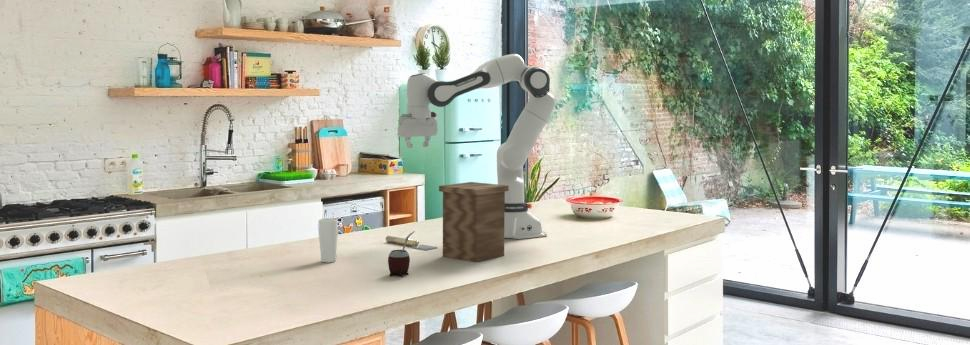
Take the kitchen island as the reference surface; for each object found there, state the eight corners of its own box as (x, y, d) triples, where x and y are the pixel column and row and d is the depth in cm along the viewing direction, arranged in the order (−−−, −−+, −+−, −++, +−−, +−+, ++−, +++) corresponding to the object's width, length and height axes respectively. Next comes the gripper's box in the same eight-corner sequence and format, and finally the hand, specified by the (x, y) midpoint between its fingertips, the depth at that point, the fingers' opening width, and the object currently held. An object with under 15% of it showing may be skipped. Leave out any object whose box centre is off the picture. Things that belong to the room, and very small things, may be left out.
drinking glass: (340, 259, 311) (340, 218, 310) (335, 263, 305) (334, 221, 303) (321, 259, 312) (321, 217, 311) (316, 263, 305) (315, 220, 304)
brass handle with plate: (382, 243, 346) (382, 236, 346) (393, 241, 351) (393, 234, 351) (426, 250, 331) (426, 243, 331) (437, 248, 336) (437, 241, 335)
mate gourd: (385, 273, 289) (385, 228, 288) (408, 272, 292) (408, 227, 290) (391, 278, 282) (391, 232, 281) (415, 276, 285) (415, 231, 283)
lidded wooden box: (438, 256, 319) (438, 185, 317) (470, 249, 333) (470, 181, 330) (476, 262, 308) (477, 189, 305) (507, 255, 322) (508, 185, 319)
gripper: (405, 114, 345) (405, 149, 346) (440, 113, 360) (440, 146, 362) (393, 113, 348) (394, 148, 350) (428, 113, 364) (428, 146, 366)
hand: (417, 147), depth 356 cm, fingers open, 8 cm apart
